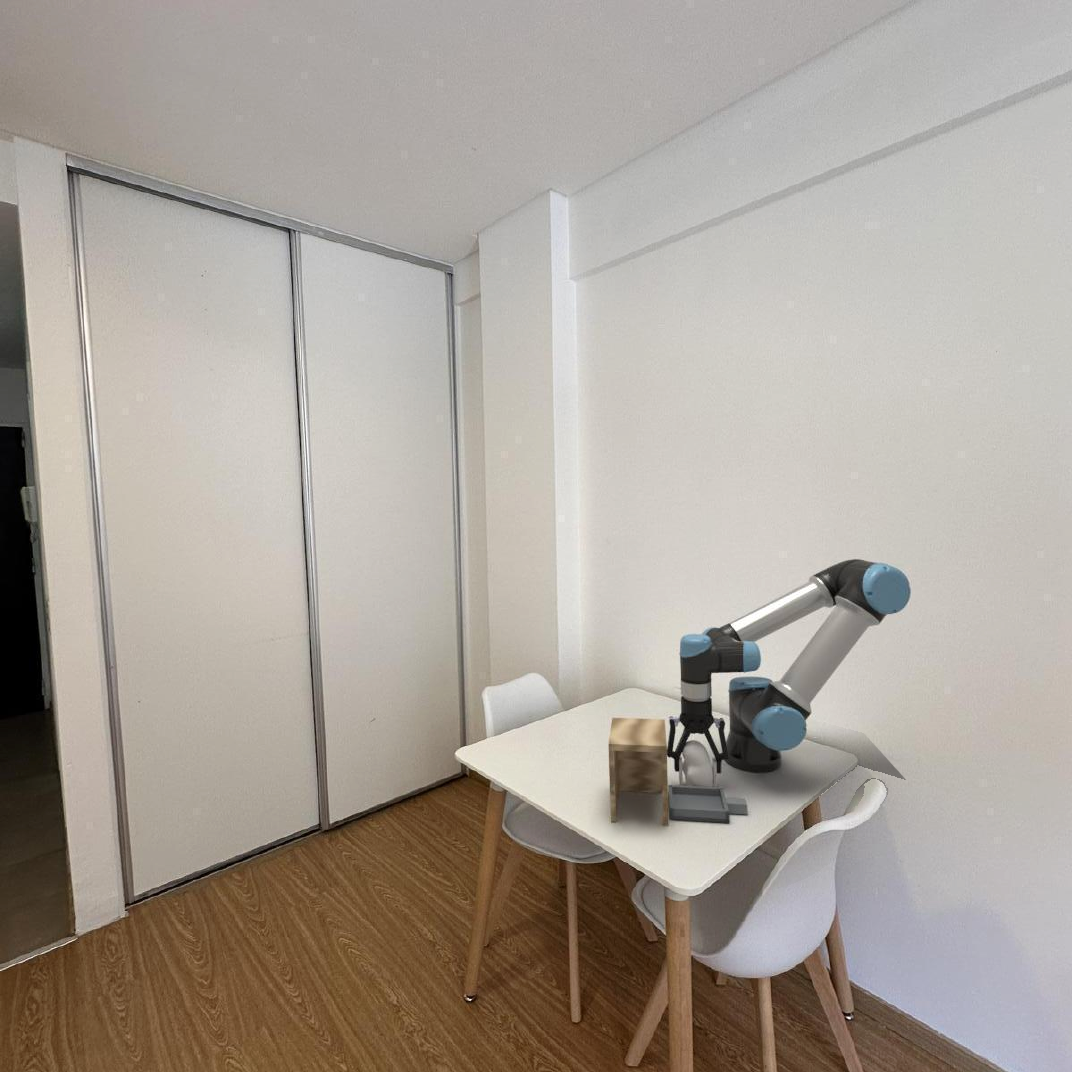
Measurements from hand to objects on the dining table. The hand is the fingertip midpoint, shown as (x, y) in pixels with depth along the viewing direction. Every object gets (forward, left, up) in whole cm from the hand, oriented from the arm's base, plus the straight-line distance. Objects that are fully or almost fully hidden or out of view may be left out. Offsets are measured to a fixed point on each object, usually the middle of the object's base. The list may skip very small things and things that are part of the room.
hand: (697, 784), depth 151 cm
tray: (-1, +11, 0) cm, 11 cm away
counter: (+14, +11, -1) cm, 18 cm away
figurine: (0, 0, -1) cm, 1 cm away
